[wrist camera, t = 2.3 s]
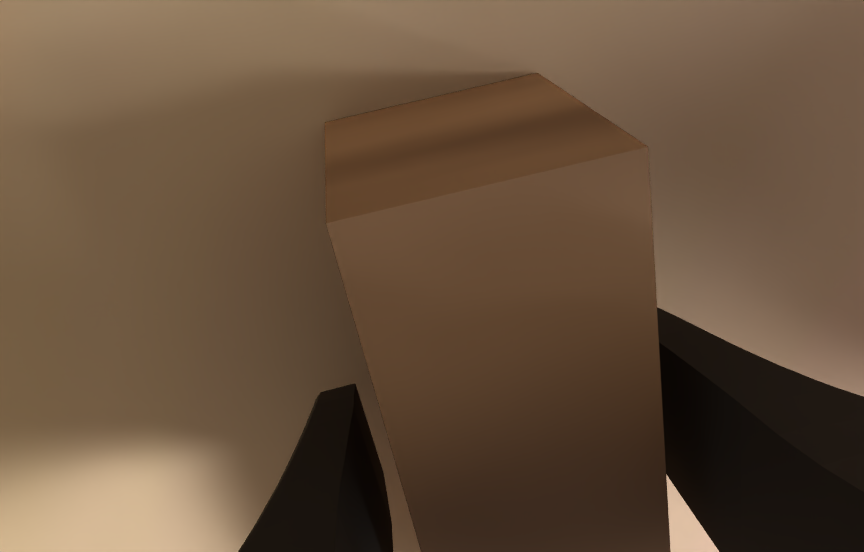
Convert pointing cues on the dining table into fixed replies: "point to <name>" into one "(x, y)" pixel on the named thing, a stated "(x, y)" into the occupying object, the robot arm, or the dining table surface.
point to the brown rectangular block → (507, 315)
